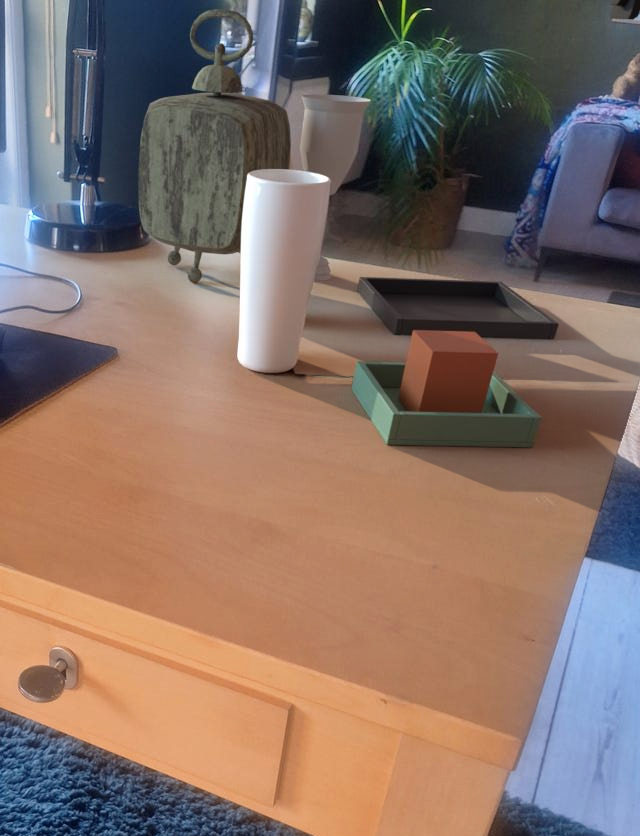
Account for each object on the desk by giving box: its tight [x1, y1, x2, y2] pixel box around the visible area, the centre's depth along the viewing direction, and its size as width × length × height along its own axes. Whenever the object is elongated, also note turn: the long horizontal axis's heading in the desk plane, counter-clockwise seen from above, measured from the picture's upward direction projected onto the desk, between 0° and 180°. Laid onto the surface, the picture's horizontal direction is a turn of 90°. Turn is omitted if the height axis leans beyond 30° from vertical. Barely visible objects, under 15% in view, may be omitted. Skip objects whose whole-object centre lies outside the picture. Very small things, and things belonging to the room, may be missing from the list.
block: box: [398, 330, 499, 413], centre depth 68 cm, size 5×5×6 cm
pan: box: [356, 276, 559, 341], centre depth 91 cm, size 16×15×2 cm
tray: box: [351, 360, 542, 448], centre depth 69 cm, size 11×11×2 cm
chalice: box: [299, 93, 371, 281], centre depth 97 cm, size 7×7×18 cm
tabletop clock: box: [137, 8, 292, 284], centre depth 92 cm, size 14×9×25 cm, turn 59°
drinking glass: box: [236, 169, 331, 374], centre depth 73 cm, size 7×7×15 cm
